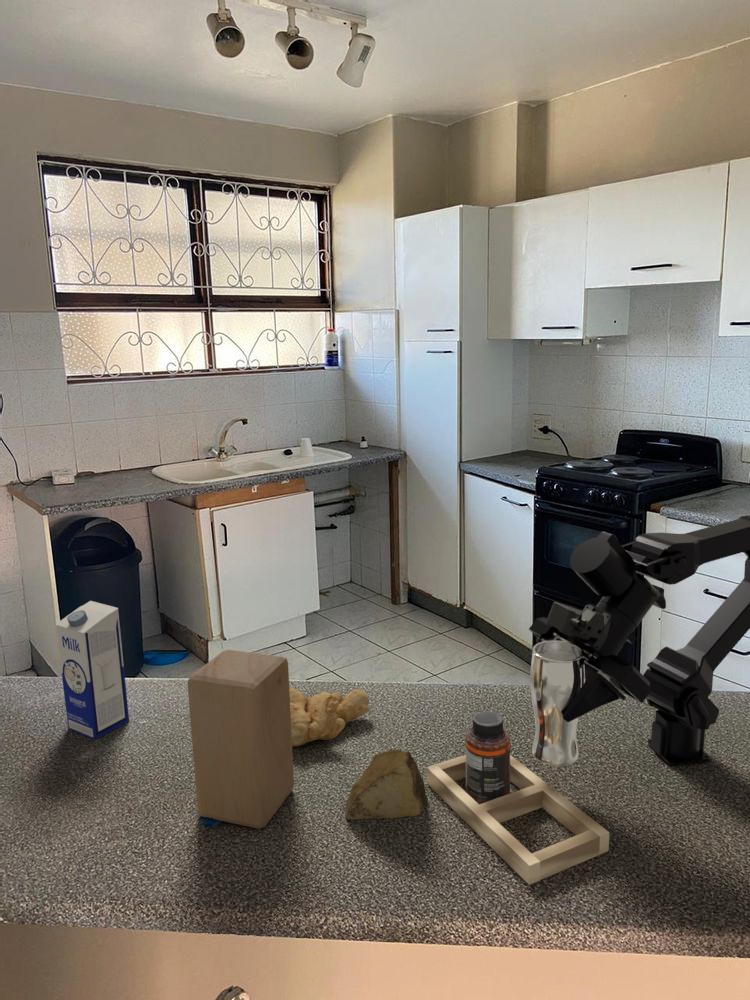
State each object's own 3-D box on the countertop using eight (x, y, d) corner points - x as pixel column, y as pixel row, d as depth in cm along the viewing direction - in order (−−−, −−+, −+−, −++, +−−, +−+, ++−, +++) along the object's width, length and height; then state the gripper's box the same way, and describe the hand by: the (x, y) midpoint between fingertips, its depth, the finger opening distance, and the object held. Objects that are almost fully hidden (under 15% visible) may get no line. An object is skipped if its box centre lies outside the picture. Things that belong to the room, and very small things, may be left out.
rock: (328, 816, 94) (402, 823, 90) (336, 745, 97) (408, 749, 94) (361, 822, 103) (430, 828, 99) (367, 757, 106) (434, 760, 103)
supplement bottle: (494, 776, 105) (495, 703, 103) (518, 799, 100) (520, 723, 98) (457, 787, 103) (457, 712, 101) (480, 811, 98) (480, 733, 95)
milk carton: (130, 721, 123) (118, 606, 118) (95, 740, 117) (82, 620, 113) (102, 710, 126) (90, 599, 122) (67, 728, 121) (53, 612, 117)
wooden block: (297, 788, 103) (290, 654, 99) (263, 833, 94) (254, 687, 90) (233, 776, 107) (224, 646, 102) (195, 818, 98) (183, 677, 93)
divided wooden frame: (426, 783, 104) (426, 767, 104) (496, 760, 109) (497, 744, 109) (529, 885, 84) (529, 865, 84) (608, 850, 90) (609, 832, 89)
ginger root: (239, 742, 113) (245, 689, 113) (287, 717, 128) (292, 670, 128) (333, 764, 108) (339, 709, 108) (372, 736, 123) (377, 687, 123)
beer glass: (592, 761, 98) (597, 656, 95) (547, 773, 96) (549, 665, 93) (562, 735, 105) (565, 636, 101) (519, 746, 102) (520, 644, 99)
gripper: (541, 562, 105) (473, 650, 103) (636, 603, 88) (558, 709, 86) (584, 605, 110) (520, 690, 108) (682, 652, 93) (609, 753, 91)
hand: (548, 708), depth 98 cm, fingers closed on beer glass, 6 cm apart
